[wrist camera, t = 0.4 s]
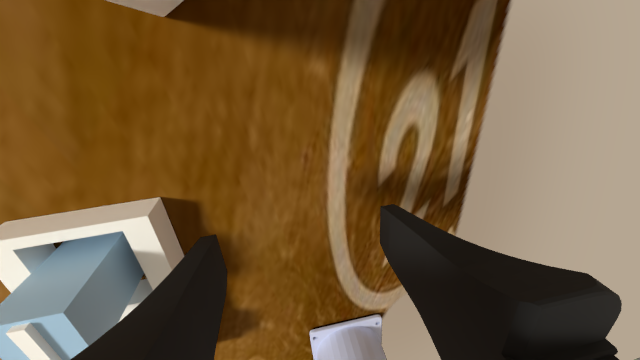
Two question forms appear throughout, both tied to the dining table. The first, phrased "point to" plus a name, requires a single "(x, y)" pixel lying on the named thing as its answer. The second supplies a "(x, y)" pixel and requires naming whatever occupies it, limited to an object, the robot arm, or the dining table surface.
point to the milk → (150, 5)
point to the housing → (132, 218)
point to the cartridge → (69, 299)
